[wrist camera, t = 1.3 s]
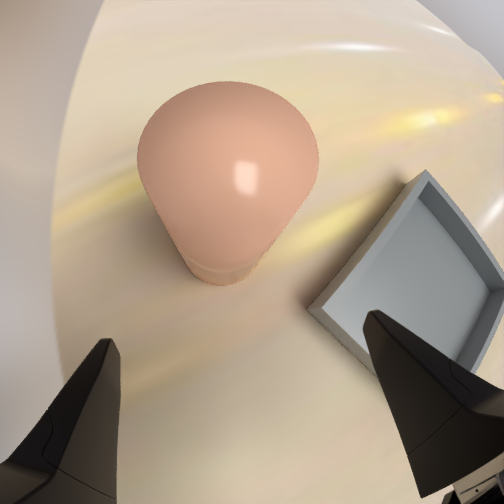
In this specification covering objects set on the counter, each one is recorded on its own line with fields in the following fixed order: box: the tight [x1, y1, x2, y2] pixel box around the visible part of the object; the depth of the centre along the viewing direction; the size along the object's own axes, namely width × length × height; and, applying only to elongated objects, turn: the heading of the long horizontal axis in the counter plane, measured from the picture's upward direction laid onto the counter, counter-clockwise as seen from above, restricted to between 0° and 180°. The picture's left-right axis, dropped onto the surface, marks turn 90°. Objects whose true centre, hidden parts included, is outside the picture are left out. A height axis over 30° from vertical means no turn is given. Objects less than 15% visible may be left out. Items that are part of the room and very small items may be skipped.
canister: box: [137, 81, 319, 286], centre depth 16 cm, size 6×6×14 cm
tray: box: [306, 169, 504, 378], centre depth 22 cm, size 16×16×4 cm
